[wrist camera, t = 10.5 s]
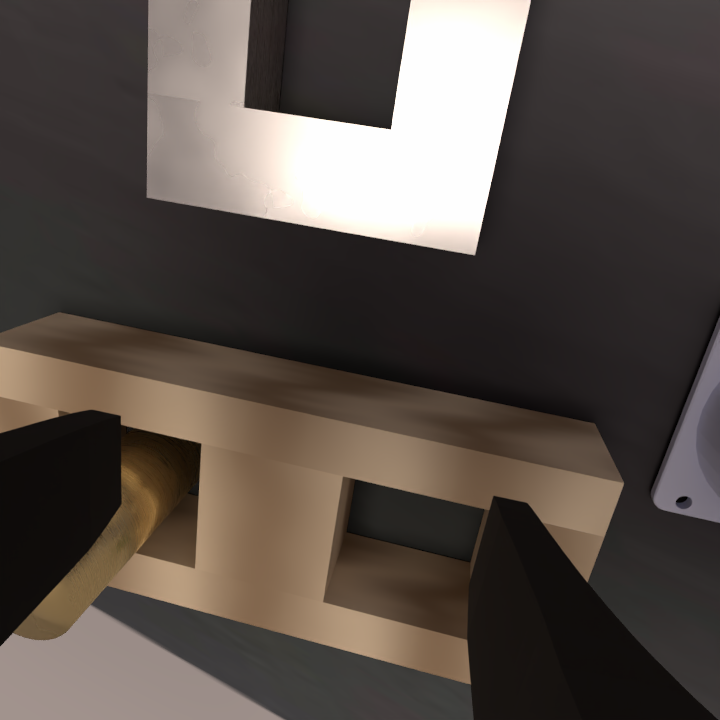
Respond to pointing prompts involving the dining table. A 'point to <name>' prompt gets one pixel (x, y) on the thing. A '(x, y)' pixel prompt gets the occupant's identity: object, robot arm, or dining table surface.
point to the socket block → (331, 122)
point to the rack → (311, 481)
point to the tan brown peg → (121, 526)
